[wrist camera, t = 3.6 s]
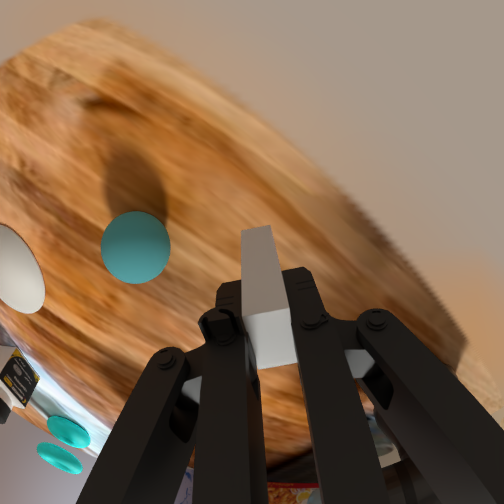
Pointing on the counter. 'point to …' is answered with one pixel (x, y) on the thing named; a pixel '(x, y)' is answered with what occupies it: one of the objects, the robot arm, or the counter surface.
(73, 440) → the donuts
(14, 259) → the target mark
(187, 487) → the aerosol can
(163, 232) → the ball
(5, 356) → the medicine bottle
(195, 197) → the counter surface
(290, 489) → the pasta box
